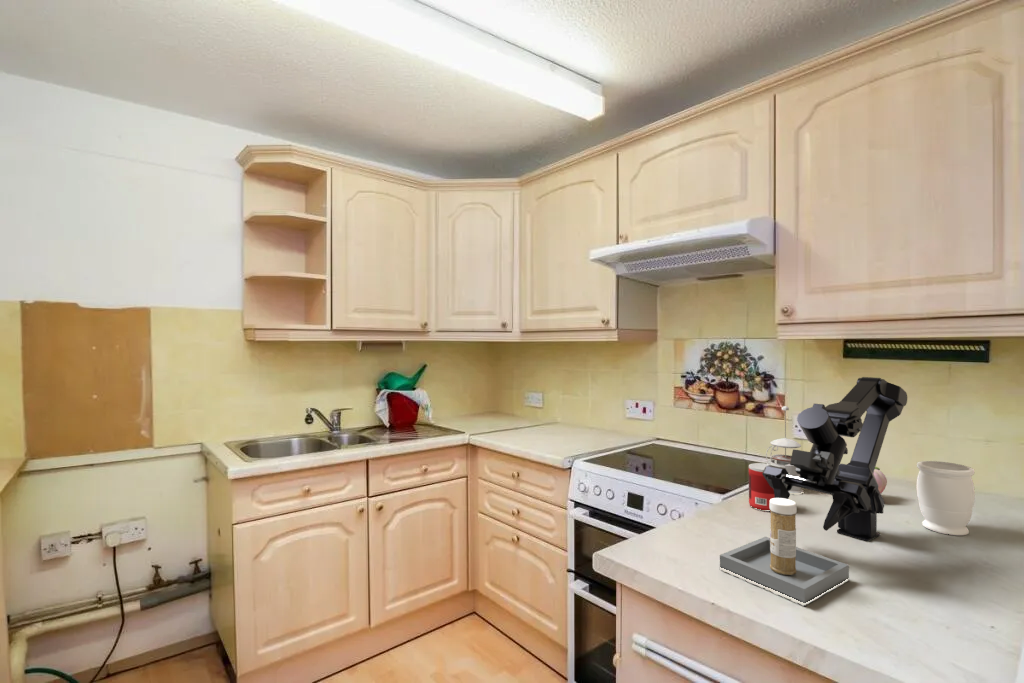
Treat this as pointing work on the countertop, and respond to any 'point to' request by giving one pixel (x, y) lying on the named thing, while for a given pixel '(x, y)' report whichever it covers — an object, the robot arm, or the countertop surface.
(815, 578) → the box
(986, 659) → the countertop surface
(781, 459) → the french press
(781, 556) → the sprinkles bottle
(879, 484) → the decorative fruit
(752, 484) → the canned food
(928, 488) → the jar
